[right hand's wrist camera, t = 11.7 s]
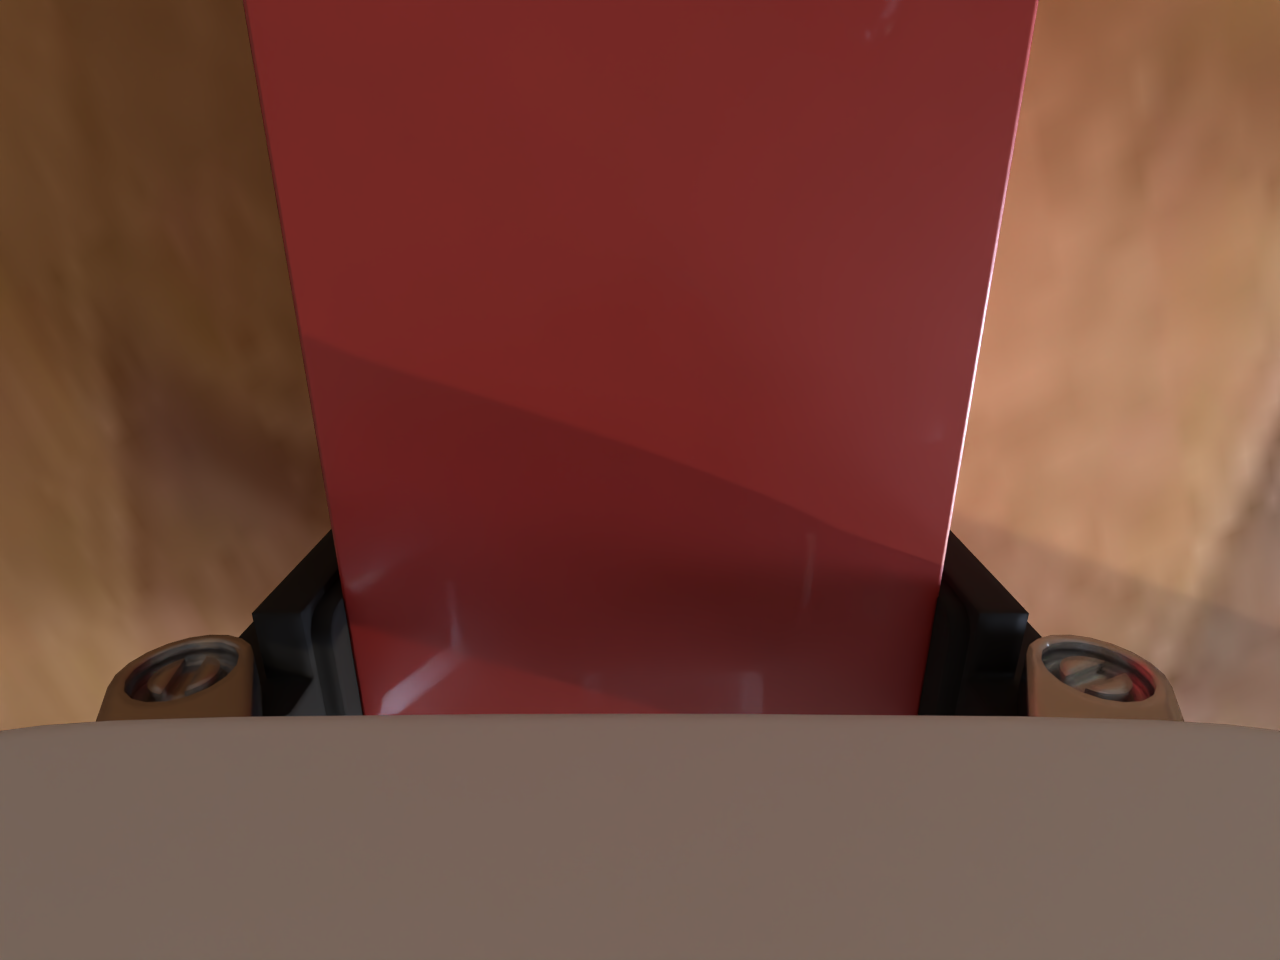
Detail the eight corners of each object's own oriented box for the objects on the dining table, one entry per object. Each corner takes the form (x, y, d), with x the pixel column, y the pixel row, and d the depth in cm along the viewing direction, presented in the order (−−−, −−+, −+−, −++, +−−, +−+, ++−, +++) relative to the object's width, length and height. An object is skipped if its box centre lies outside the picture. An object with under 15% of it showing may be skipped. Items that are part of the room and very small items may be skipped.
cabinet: (406, -569, 10) (-203, -2608, 3) (872, -568, 10) (1482, -2608, 3) (503, 645, 17) (403, 967, 10) (776, 645, 17) (877, 965, 10)
